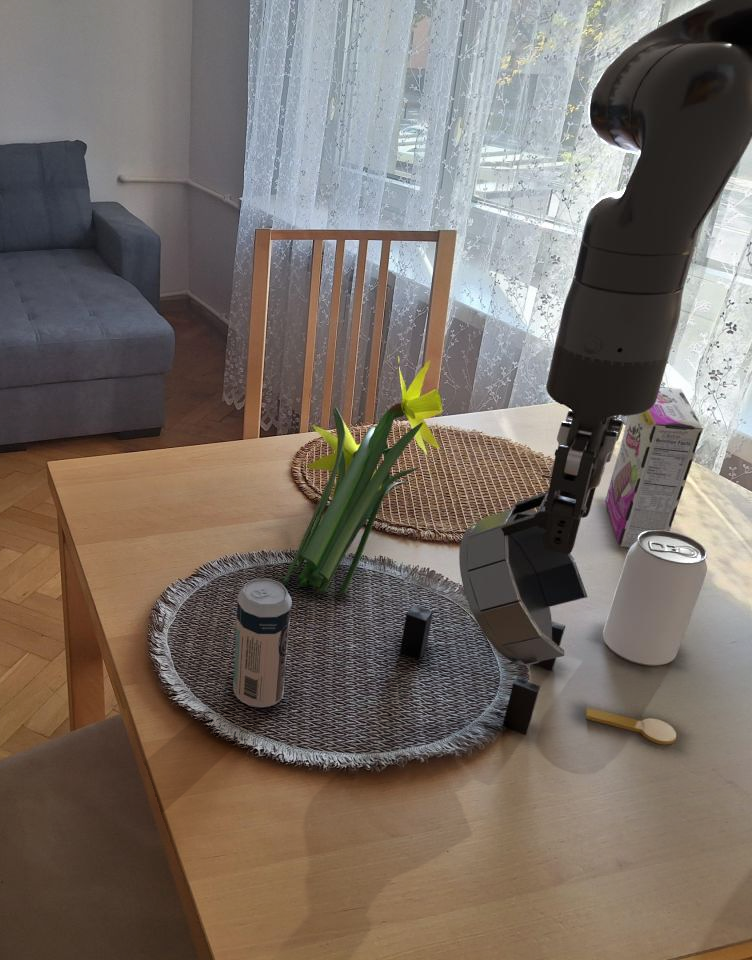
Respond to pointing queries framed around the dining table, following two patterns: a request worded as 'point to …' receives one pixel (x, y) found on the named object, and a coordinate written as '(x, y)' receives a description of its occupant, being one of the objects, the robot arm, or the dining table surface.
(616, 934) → the dining table surface
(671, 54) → the robot arm
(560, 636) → the bowl stand
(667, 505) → the candy bar box
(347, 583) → the daffodil flowers
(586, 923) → the dining table surface
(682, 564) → the can
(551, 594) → the bowl
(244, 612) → the beer can
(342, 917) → the dining table surface
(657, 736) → the spoon
